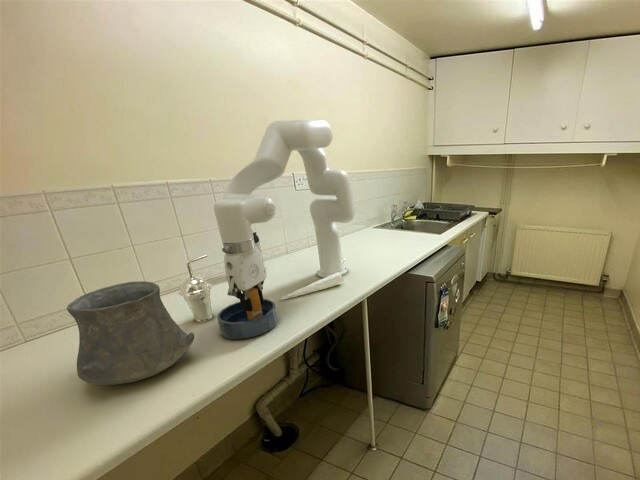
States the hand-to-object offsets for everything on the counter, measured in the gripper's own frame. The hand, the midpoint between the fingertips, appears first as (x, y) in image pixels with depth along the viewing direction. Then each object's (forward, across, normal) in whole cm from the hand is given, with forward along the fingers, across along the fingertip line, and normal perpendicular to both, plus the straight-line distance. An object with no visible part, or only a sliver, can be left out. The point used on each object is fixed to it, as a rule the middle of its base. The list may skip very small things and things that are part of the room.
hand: (253, 306), depth 90 cm
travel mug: (+7, +41, +34) cm, 54 cm away
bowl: (+7, 0, +2) cm, 7 cm away
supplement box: (+5, 0, 0) cm, 5 cm away
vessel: (+7, -22, +13) cm, 27 cm away
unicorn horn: (+7, +27, -4) cm, 28 cm away
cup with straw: (+7, +1, +20) cm, 22 cm away
